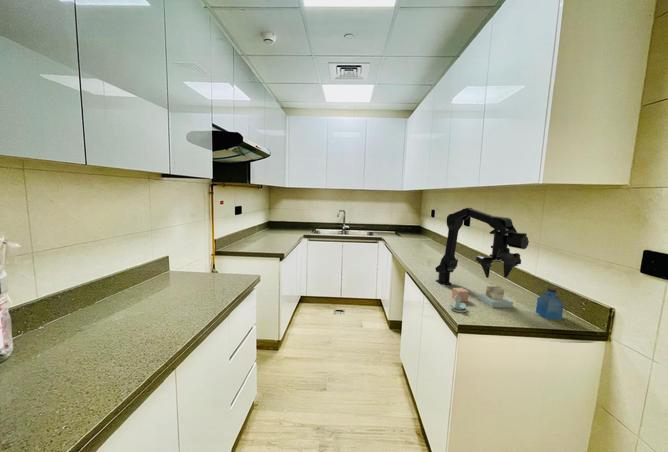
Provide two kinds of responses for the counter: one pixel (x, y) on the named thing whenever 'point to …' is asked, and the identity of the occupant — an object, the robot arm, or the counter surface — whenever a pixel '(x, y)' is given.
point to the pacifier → (458, 305)
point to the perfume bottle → (550, 305)
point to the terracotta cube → (460, 294)
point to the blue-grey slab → (495, 301)
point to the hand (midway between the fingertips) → (496, 277)
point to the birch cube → (495, 292)
